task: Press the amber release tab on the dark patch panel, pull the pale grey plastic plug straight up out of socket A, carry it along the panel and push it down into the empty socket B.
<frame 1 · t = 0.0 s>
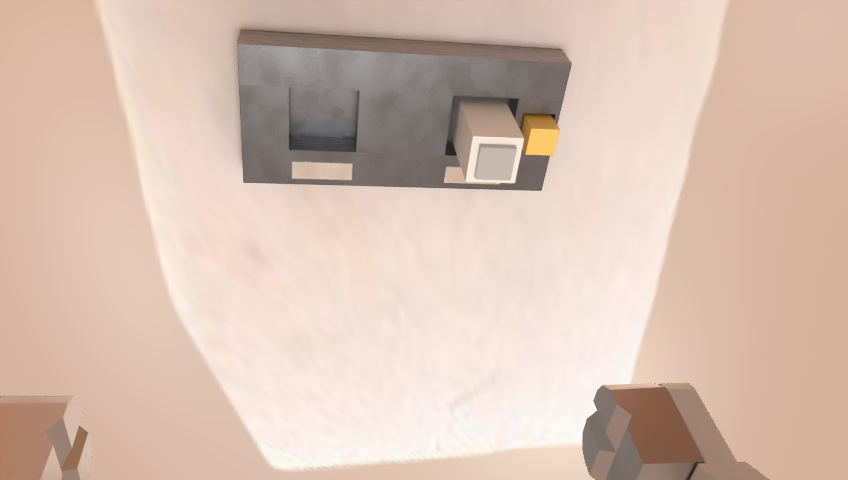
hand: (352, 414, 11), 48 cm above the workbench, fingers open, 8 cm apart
release tab: (536, 130, 60), point 3 cm above the workbench, slide at 0.0 cm
panel: (400, 108, 61), on the workbench
plug: (475, 114, 62), resting on panel
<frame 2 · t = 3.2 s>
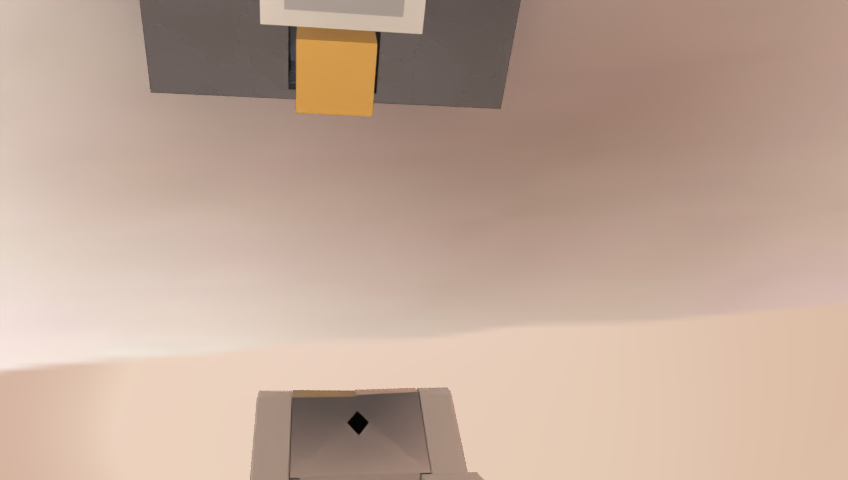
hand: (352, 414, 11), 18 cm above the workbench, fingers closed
release tab: (334, 54, 24), point 3 cm above the workbench, slide at 0.0 cm
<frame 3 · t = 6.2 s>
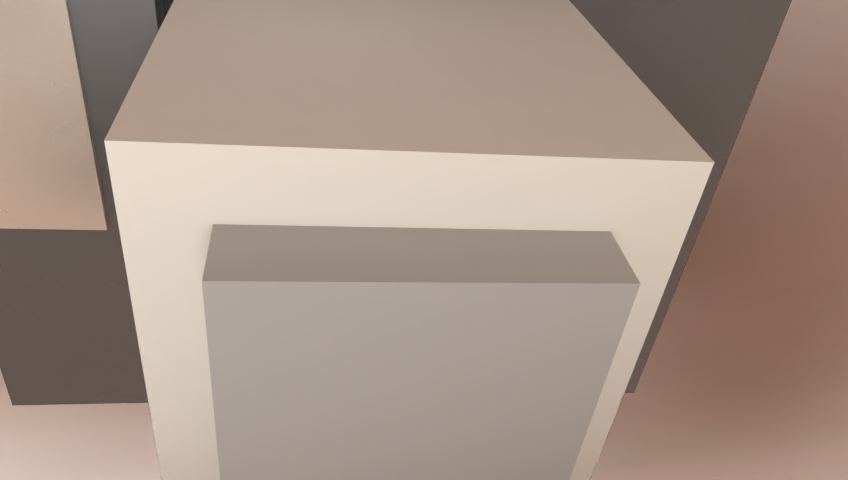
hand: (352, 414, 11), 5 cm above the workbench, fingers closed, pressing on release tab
plug: (356, 26, 12), resting on panel
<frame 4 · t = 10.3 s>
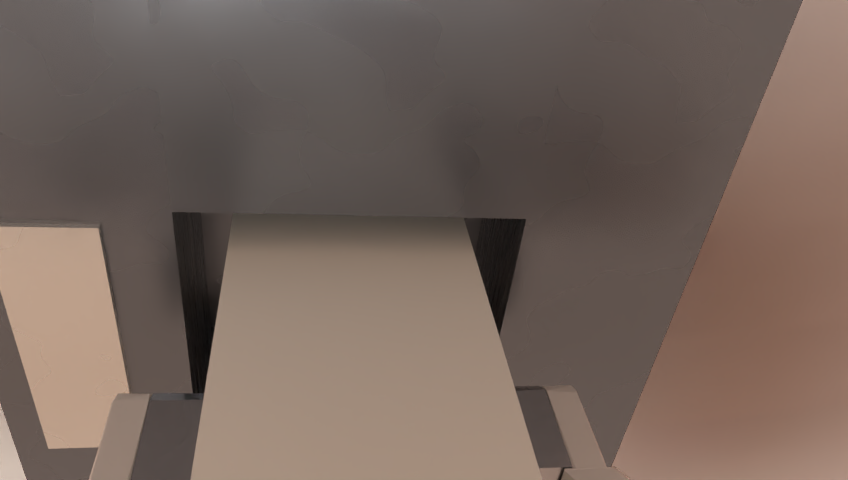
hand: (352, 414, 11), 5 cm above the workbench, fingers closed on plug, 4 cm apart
plug: (343, 258, 15), point 1 cm above the workbench, touching gripper, panel
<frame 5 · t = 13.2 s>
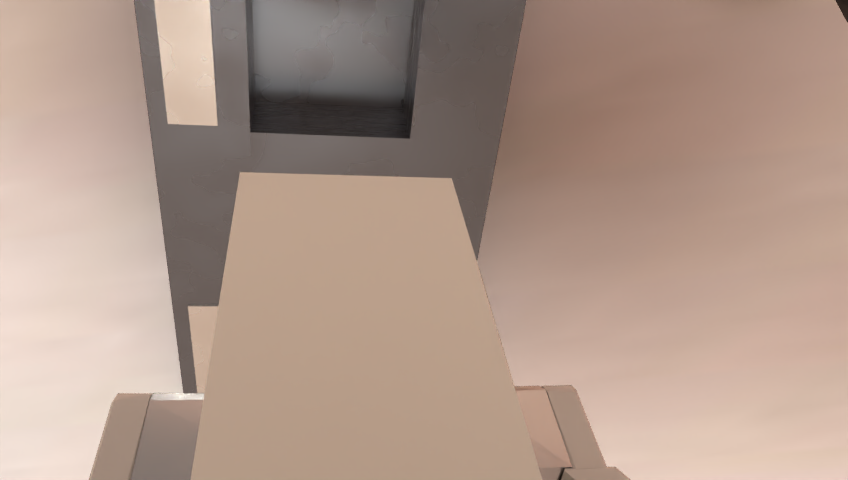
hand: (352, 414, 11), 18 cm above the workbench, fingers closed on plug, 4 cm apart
panel: (327, 183, 29), on the workbench
plug: (343, 259, 15), point 14 cm above the workbench, touching gripper
when the fingers open (6 cm above the workbench, at t = 16.1 s): plug stays where it is, resting on panel.
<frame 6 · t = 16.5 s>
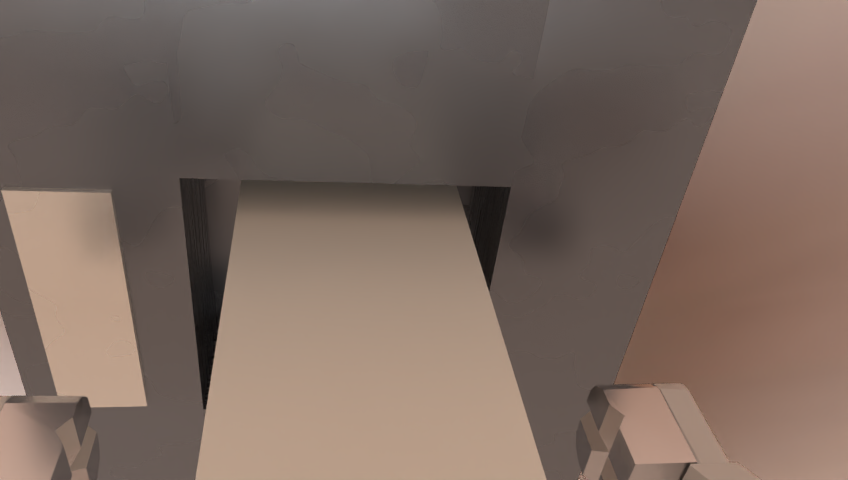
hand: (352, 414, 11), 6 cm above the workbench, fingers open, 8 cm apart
panel: (330, 414, 20), on the workbench
plug: (344, 231, 16), resting on panel
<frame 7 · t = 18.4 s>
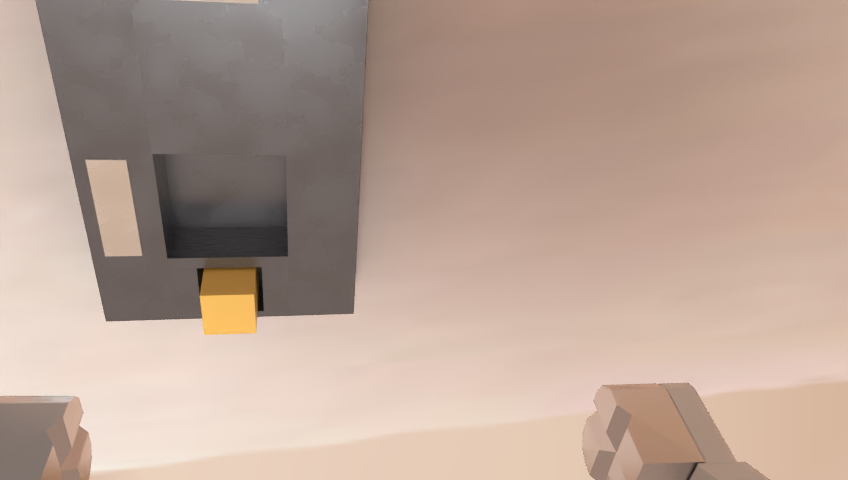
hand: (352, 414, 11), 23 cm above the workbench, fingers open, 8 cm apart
release tab: (231, 287, 35), point 3 cm above the workbench, slide at 0.4 cm
panel: (219, 43, 31), on the workbench
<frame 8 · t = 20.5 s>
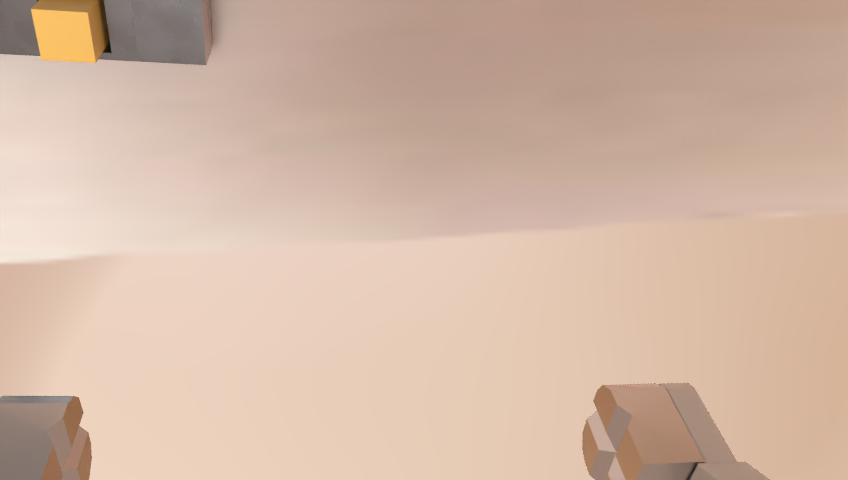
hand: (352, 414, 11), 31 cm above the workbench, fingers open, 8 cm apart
release tab: (75, 21, 35), point 3 cm above the workbench, slide at 0.4 cm
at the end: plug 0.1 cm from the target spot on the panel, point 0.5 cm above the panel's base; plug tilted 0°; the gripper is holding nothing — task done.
